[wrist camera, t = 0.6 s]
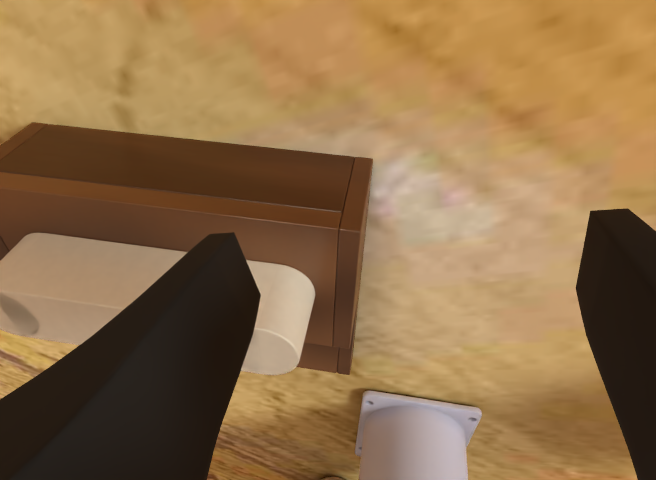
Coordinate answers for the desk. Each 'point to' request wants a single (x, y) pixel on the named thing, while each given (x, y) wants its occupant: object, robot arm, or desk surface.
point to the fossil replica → (333, 478)
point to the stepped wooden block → (200, 208)
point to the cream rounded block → (134, 294)
